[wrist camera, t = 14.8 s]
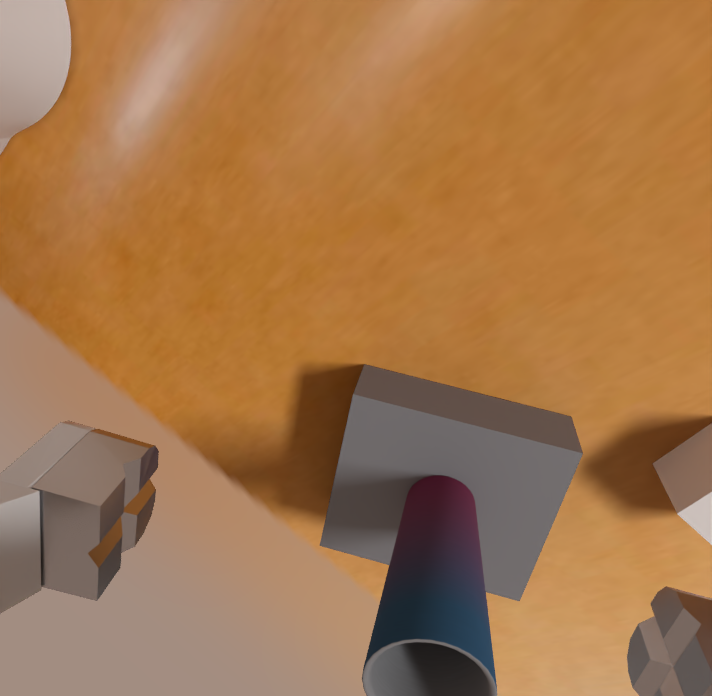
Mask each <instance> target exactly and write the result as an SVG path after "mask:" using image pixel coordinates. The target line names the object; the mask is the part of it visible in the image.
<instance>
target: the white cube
mask: <svg viewBox="0 0 712 696" xmlns="http://www.w3.org/2000/svg"><path fill="white" fill-rule="evenodd" d="M653 466H654V468H655V470H656V472H657V474H658V476H659V478H660V480H661V482H662V484H663V486H664V488H665V490H666V492H667V494H668V496H669V498H670V500H671V502H672V504H673V506H674V508H675V510H676V512H677V514H678V515H679V516H680V517H681V518H682V519H684V520H685V521H686V522H687V523H688V524H689V525H690V526H691V527H692V528H694V529H695V530H696V531H697V532H698V533H699V534H700V535H701V536H702V537H703V538H705V539H706V540H707V541H708V542H709V543H710V544H711V545H712V423H711V424H709V425H708V426H706V427H705V428H704V429H702V430H701V431H699V432H698V433H696V434H695V435H693V436H692V437H690V438H689V439H688V440H686V441H685V442H683V443H682V444H680V445H679V446H677V447H676V448H674V449H673V450H672V451H670V452H669V453H667V454H666V455H664V456H663V457H661V458H660V459H658V460H657V461H656V462H654V463H653Z"/></svg>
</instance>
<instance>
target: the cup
mask: <svg viewBox="0 0 712 696" xmlns="http://www.w3.org/2000/svg"><path fill="white" fill-rule="evenodd" d="M362 681H363V687H364V690H365V693H366V695H367V696H497V686H496V677H495V668H494V660H493V651H492V643H491V634H490V626H489V617H488V608H487V600H486V591H485V583H484V574H483V565H482V557H481V548H480V540H479V531H478V522H477V514H476V505H475V500H474V496H473V494H472V493H471V491H470V490H469V489H468V487H467V486H466V485H464V484H463V483H462V482H460V481H458V480H457V479H454V478H451V477H448V476H442V475H434V476H429V477H426V478H423V479H421V480H419V481H417V482H416V483H415V484H414V485H413V486H412V487H411V488H410V490H409V492H408V494H407V498H406V502H405V506H404V510H403V514H402V518H401V522H400V525H399V529H398V533H397V537H396V541H395V545H394V549H393V553H392V557H391V561H390V565H389V569H388V573H387V577H386V581H385V585H384V589H383V593H382V597H381V601H380V605H379V609H378V613H377V617H376V621H375V625H374V629H373V633H372V637H371V641H370V645H369V649H368V653H367V657H366V661H365V665H364V669H363V676H362Z"/></svg>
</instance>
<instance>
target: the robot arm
mask: <svg viewBox="0 0 712 696" xmlns="http://www.w3.org/2000/svg"><path fill="white" fill-rule="evenodd" d="M70 56H71V31H70V22H69V16H68V11H67V7H66V3H65V0H0V154H1V153H2V151H3V150H4V148H5V147H6V145H7V143H8V142H9V140H10V138H11V137H12V136H14V135H15V134H16V133H18V132H20V131H22V130H24V129H25V128H27V127H29V126H31V125H33V124H34V123H36V122H37V121H39V120H40V119H41V118H42V117H43V116H44V115H46V114H47V113H48V111H49V110H50V109H51V108H52V107H53V105H54V104H55V102H56V101H57V99H58V97H59V95H60V93H61V91H62V89H63V86H64V84H65V81H66V78H67V74H68V70H69V64H70ZM158 452H159V451H158V449H157V448H156V447H155V446H154V445H151V444H147V443H144V442H140V441H137V440H134V439H131V438H127V437H124V436H120V435H117V434H113V433H111V432H107V431H104V430H100V429H95V428H92V427H89V426H85V425H82V424H79V423H75V422H72V421H65V422H60V423H59V424H58V425H56V426H55V427H54V428H53V429H52V430H51V431H49V432H48V433H47V434H46V435H45V436H44V437H42V438H41V439H40V440H39V441H38V442H37V443H35V444H34V445H33V446H32V447H31V448H30V449H28V450H27V451H26V452H25V453H24V454H23V455H21V456H20V457H19V458H18V459H17V460H16V461H14V462H13V463H12V464H11V465H10V466H9V467H8V468H6V469H5V470H4V471H3V472H2V473H1V474H0V613H2V612H4V611H5V610H7V609H9V608H11V607H13V606H14V605H16V604H18V603H20V602H21V601H23V600H25V599H26V598H28V597H30V596H32V595H34V594H35V593H37V592H39V591H41V587H45V588H49V589H53V590H56V591H60V592H64V593H68V594H72V595H76V596H80V597H84V598H88V599H91V600H95V601H97V600H98V599H99V597H100V596H101V595H102V593H103V592H104V590H105V589H106V587H107V586H108V584H109V583H110V581H111V580H112V579H113V577H114V576H115V574H116V573H117V572H118V570H119V569H120V563H121V553H122V552H124V551H126V550H128V549H130V548H133V547H134V546H135V545H136V544H137V542H138V541H139V539H140V538H141V536H142V535H143V533H144V531H145V529H146V526H147V524H148V522H149V520H150V517H151V514H152V510H153V506H154V502H155V493H156V489H155V487H154V486H153V484H152V482H151V481H150V477H151V476H152V475H153V473H154V472H155V471H156V469H157V468H158ZM651 607H652V610H653V613H654V617H652V618H650V619H647V620H645V621H643V622H641V623H639V624H638V625H637V627H636V629H635V631H634V633H633V635H632V637H631V639H630V643H629V649H628V655H627V660H628V672H629V676H630V679H631V683H632V687H633V688H634V690H635V691H636V692H637V693H638V694H639V696H712V599H711V598H708V597H704V596H700V595H696V594H693V593H689V592H685V591H682V590H678V589H674V588H670V587H667V586H666V587H664V588H663V589H662V590H660V591H659V592H658V593H657V594H656V596H655V597H654V599H653V601H652V602H651Z"/></svg>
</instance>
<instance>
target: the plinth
mask: <svg viewBox="0 0 712 696" xmlns="http://www.w3.org/2000/svg"><path fill="white" fill-rule="evenodd" d="M582 454H583V452H582V449H581V446H580V443H579V439H578V436H577V433H576V430H575V427H574V424H573V420H572V417H571V416H567V415H563V414H559V413H555V412H551V411H547V410H543V409H539V408H535V407H531V406H527V405H523V404H519V403H515V402H511V401H507V400H503V399H499V398H496V397H492V396H488V395H484V394H480V393H476V392H472V391H468V390H464V389H460V388H456V387H452V386H448V385H444V384H440V383H436V382H432V381H428V380H425V379H421V378H417V377H413V376H409V375H405V374H401V373H397V372H393V371H389V370H385V369H381V368H377V367H373V366H369V365H365V364H364V367H363V369H362V372H361V375H360V377H359V380H358V383H357V385H356V388H355V391H354V393H353V397H352V402H351V406H350V411H349V415H348V420H347V424H346V429H345V433H344V438H343V443H342V447H341V452H340V456H339V461H338V465H337V470H336V474H335V479H334V483H333V488H332V492H331V497H330V501H329V506H328V511H327V515H326V520H325V524H324V529H323V533H322V538H321V542H320V546H323V547H326V548H330V549H334V550H337V551H341V552H344V553H348V554H352V555H355V556H359V557H362V558H366V559H370V560H373V561H377V562H380V563H384V564H387V565H390V561H391V557H392V553H393V549H394V545H395V541H396V537H397V533H398V529H399V525H400V522H401V518H402V514H403V510H404V506H405V502H406V498H407V494H408V492H409V490H410V488H411V487H412V486H413V485H414V484H415V483H416V482H417V481H419V480H421V479H423V478H426V477H429V476H434V475H442V476H448V477H451V478H454V479H457V480H458V481H460V482H462V483H463V484H464V485H466V486H467V487H468V489H469V490H470V491H471V493H472V494H473V496H474V500H475V505H476V514H477V522H478V531H479V540H480V548H481V557H482V565H483V574H484V583H485V591H486V592H488V593H492V594H495V595H499V596H502V597H506V598H510V599H513V600H517V601H520V599H521V597H522V594H523V592H524V590H525V587H526V585H527V583H528V580H529V578H530V576H531V573H532V571H533V569H534V566H535V564H536V562H537V559H538V557H539V555H540V552H541V550H542V548H543V545H544V543H545V541H546V538H547V536H548V534H549V531H550V529H551V527H552V524H553V522H554V520H555V517H556V515H557V513H558V510H559V508H560V506H561V503H562V501H563V499H564V496H565V494H566V492H567V489H568V487H569V485H570V482H571V480H572V478H573V475H574V473H575V471H576V468H577V466H578V464H579V461H580V459H581V457H582Z"/></svg>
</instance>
